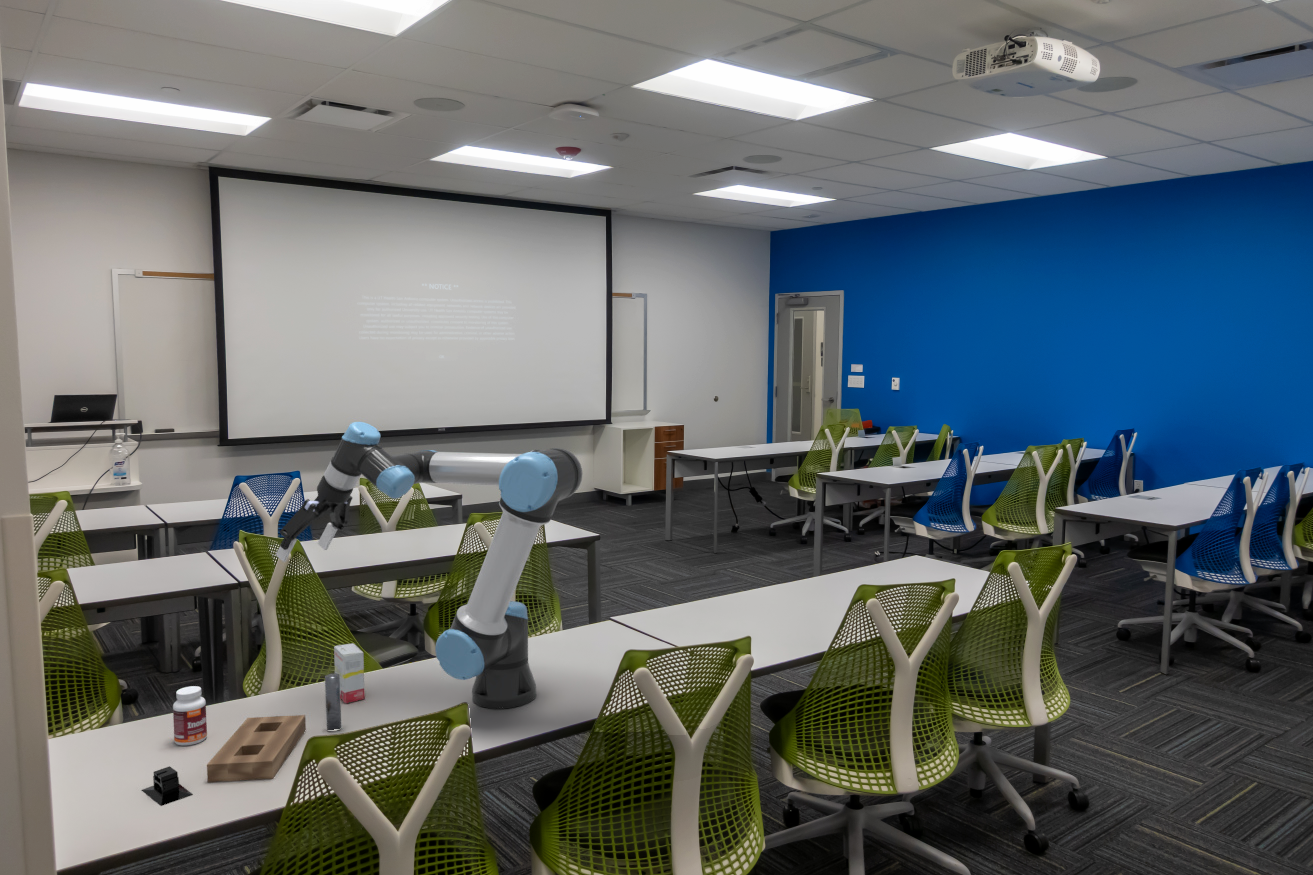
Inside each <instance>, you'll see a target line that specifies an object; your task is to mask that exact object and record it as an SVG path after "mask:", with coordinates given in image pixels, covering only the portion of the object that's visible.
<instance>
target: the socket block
mask: <svg viewBox="0 0 1313 875" xmlns="http://www.w3.org/2000/svg"><path fill="white" fill-rule="evenodd" d="M306 722H307V721H306V714H302V715H301V714H300V715H298V714H297V715H282V716H281V715H280V716H278V715H275V716H257V717H246V719H245V720H244V722H243V723H242V724H241V725H240V726H239V727H238V728H237V730H236V731H235V732H234V733H233V734H232V735H231V736H230V737H229V739H228V740H227V741H226V742H225V743H224V744H223V746H221V747H220V749H219V750H218V751H217V752H216V753H215V755H213V757H212V758H211V759H210V760H209V762H208V763H207V764H206V774H207V776H206V777H207V783H217V782H234V781H250V780H251V781H254V780H268V779H270V780H272V779H274V778H275V777H276V774H278V772H279V770H280V769H281V768H282V766H283V764H284V763H285V762H286V761H287V759H288V757H289V756H290V754H291V753H292V752H293V750H294V748H295V747H296V745H297V744H298V742H300V740H301V738H302V737H303V735H305V733H306V731H307V727H306ZM305 730H306V731H305ZM304 732H305V733H304Z"/></svg>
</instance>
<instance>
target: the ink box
mask: <svg viewBox="0 0 1313 875" xmlns="http://www.w3.org/2000/svg"><path fill="white" fill-rule="evenodd" d="M333 649H334V650H333V652H334V655H333V656H334V661H333V662H334V674H339V675H340V700H341V699H342V700H341V701H342V702H344V704H349V702H350V703H354V702H357V701H358V700H359V701H362V700H365V699H366V698H365V697H366V696H365V695H366V693H365V692H366V691H365V669H364V668H365V665H364V664H365V663H364V661H365V660H364V652H363V651H362V650H361V649H360V648H359V647H358V646H357V645H356V644H355V643H346V644H338V645H335V646H334V647H333Z"/></svg>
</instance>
